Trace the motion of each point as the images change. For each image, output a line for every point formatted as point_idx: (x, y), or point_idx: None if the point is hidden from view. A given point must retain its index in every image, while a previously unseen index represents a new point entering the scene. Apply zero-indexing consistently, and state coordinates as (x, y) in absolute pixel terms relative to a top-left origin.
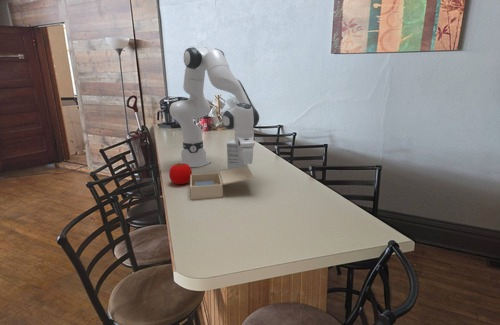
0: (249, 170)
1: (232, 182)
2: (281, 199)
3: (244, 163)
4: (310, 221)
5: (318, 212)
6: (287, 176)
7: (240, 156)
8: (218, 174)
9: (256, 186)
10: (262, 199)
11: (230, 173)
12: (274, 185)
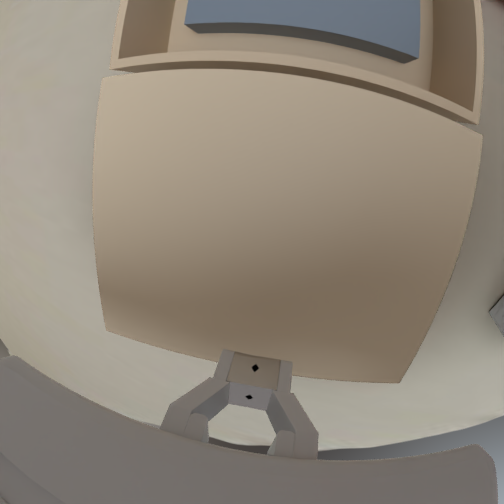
0: None
1: (98, 156)
2: None
3: (10, 356)
4: (13, 304)
5: (47, 342)
6: (333, 423)
7: (287, 471)
8: (431, 93)
9: None
10: None
11: (343, 198)
12: None
